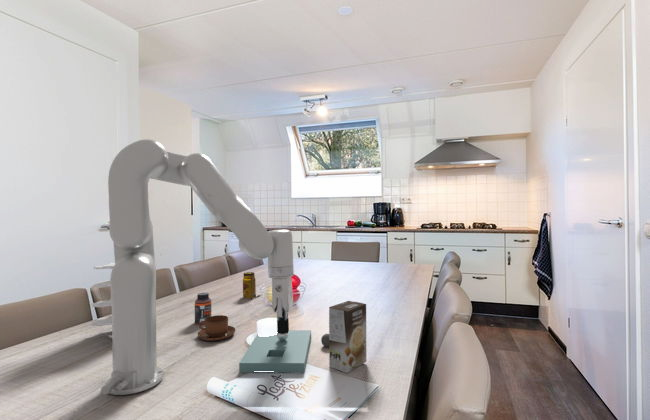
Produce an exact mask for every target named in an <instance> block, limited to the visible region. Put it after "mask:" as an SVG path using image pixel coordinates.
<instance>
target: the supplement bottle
mask: <svg viewBox="0 0 650 420" xmlns="http://www.w3.org/2000/svg"><path fill="white" fill-rule="evenodd" d="M209 294H210V293H209V292H199V293H197V296H196V297H197V298H196V299H195V300H194V324H195V325H196V326H199V323H200V322H201V321H205V319H206V318H208V317H211V316H213V315H212V299H211V298H210V296H209ZM201 326H205V323H202V324H201Z"/></svg>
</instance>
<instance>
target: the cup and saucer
mask: <svg viewBox="0 0 650 420" xmlns="http://www.w3.org/2000/svg"><path fill="white" fill-rule="evenodd" d="M202 323H205V325H204V326H205V327H202V325H201V324H202ZM198 327H199V329H200V330H199V331H198V332H197V337H198V338H199V339H201V340H204V341H209V342H210V341H212V342H214V341H215V342H216V341H222V340H225V339H228V338H230V337H231V336H233V335H234V334H235V332H236V328H235V327H234V326H232V325H229V317H228V316H227V315H223V314H222V315H219V314H218V315H212V316H211V317H208V318H206V319H205V321H201V322H200V323H199V325H198Z"/></svg>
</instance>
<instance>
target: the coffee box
mask: <svg viewBox="0 0 650 420" xmlns="http://www.w3.org/2000/svg"><path fill="white" fill-rule="evenodd" d="M328 308H329V309H328V315H329V316H328V321H329V322H328V324H329V325H328V327H329V329H328V330H329V331H328V334H329V347H328V349H329V350H328V354H329V356H328V357H329V359H328V360H329V361H328V363H329V364H328V365H329V368H332V369H335V370H337V371H340V372H343V373H346V374H348V373H350V372H353V370H355V369H357V368H359V367H360V366H362V365H363V364H365V363H366V362H367V304H366V303H363V302H358V301H351V300H347V301H344V302H341V303H338V304H333V305H332V306H329V307H328Z"/></svg>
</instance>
